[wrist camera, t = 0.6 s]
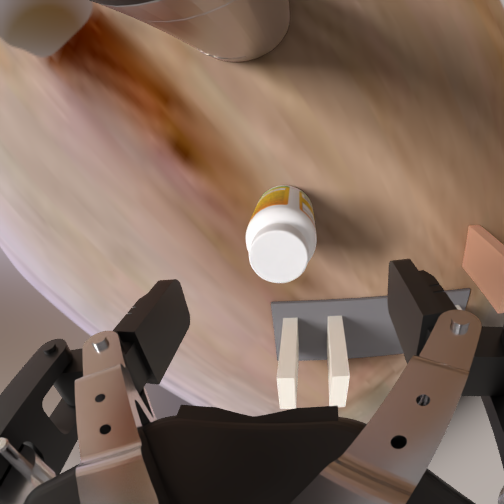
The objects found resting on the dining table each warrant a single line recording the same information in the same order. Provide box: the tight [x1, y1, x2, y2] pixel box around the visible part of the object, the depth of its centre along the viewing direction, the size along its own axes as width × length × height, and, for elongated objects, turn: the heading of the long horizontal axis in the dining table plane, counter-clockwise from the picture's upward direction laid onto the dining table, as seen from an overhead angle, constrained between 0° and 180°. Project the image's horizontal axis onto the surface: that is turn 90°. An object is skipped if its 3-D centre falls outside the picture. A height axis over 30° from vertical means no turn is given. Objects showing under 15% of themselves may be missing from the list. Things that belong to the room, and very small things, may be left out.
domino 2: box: [327, 316, 350, 407], centre depth 30 cm, size 2×5×9 cm, turn 7°
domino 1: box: [277, 318, 299, 409], centre depth 31 cm, size 2×5×9 cm, turn 7°
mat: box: [271, 288, 470, 361], centre depth 33 cm, size 24×9×1 cm, turn 97°
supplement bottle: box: [246, 185, 317, 283], centre depth 25 cm, size 5×5×10 cm
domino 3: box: [462, 225, 504, 314], centre depth 23 cm, size 2×5×9 cm, turn 7°
